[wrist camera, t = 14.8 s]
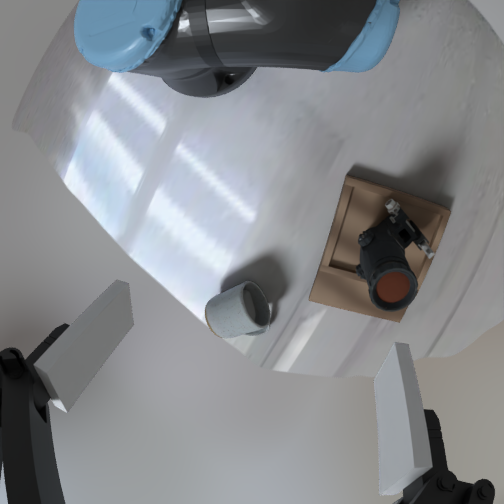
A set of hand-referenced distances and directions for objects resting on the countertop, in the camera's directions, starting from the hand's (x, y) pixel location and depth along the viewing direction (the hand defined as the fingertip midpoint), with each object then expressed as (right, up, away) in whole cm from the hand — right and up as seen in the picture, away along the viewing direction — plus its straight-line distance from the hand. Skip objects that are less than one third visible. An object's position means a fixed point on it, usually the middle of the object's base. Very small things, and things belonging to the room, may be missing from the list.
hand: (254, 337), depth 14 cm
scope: (+18, +6, +27) cm, 33 cm away
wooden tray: (+18, +4, +29) cm, 35 cm away
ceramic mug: (-1, -5, +38) cm, 38 cm away
